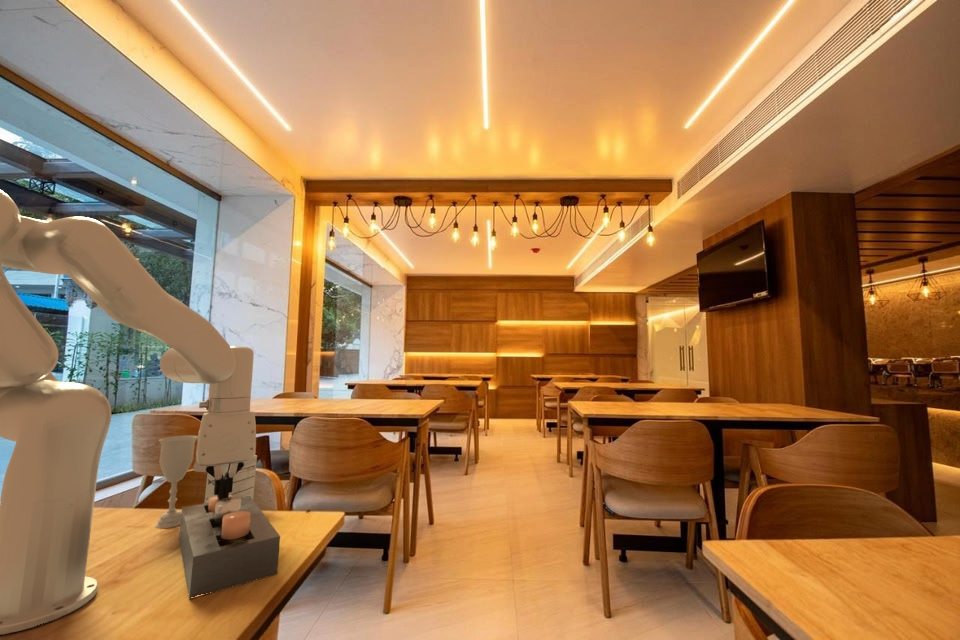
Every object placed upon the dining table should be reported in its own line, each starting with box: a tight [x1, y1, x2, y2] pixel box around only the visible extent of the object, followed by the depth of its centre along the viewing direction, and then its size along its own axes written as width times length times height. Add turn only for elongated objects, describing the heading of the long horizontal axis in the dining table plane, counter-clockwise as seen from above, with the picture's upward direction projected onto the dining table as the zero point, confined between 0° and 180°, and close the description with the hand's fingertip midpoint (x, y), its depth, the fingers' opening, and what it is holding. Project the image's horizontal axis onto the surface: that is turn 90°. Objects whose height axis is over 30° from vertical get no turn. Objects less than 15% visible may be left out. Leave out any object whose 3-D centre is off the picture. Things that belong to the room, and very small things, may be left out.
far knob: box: [208, 495, 233, 513], centre depth 81 cm, size 4×4×3 cm
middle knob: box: [214, 497, 241, 522], centre depth 74 cm, size 4×4×3 cm
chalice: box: [155, 434, 198, 529], centre depth 88 cm, size 7×7×18 cm
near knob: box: [221, 511, 251, 540], centre depth 67 cm, size 4×4×3 cm
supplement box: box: [203, 454, 258, 504], centre depth 95 cm, size 7×7×13 cm
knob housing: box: [178, 496, 281, 599], centre depth 73 cm, size 12×26×6 cm, turn 40°
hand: (222, 497), depth 81 cm, fingers closed
